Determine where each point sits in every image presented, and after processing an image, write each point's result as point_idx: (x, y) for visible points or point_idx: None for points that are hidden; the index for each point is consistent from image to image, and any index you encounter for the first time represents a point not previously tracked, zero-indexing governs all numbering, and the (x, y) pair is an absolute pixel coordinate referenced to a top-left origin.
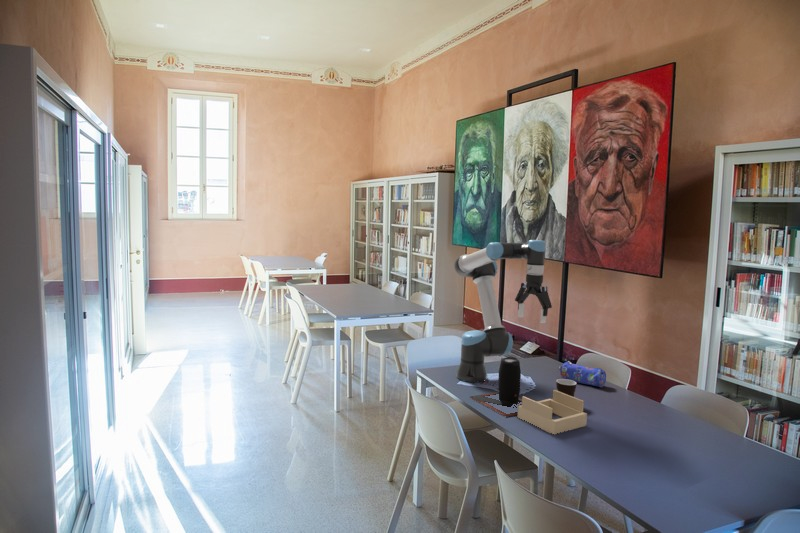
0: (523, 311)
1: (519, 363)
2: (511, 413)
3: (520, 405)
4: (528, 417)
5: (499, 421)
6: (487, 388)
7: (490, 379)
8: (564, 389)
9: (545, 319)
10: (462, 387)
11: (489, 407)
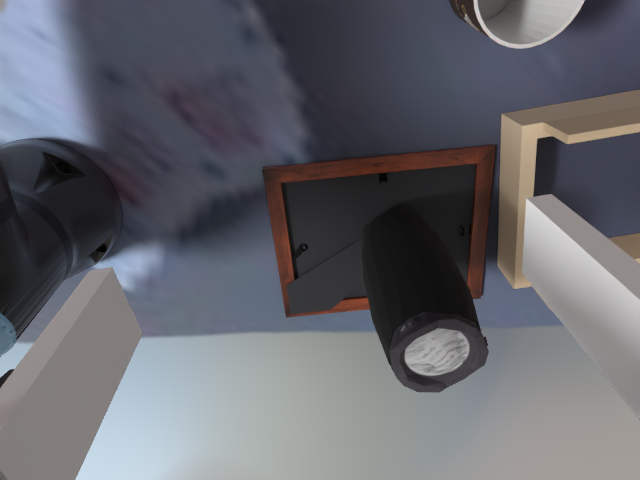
0: (78, 332)
1: (470, 315)
2: (471, 273)
3: (516, 280)
4: None
5: (492, 325)
6: (203, 210)
7: (78, 132)
8: (542, 28)
9: (578, 226)
10: (175, 291)
11: None
